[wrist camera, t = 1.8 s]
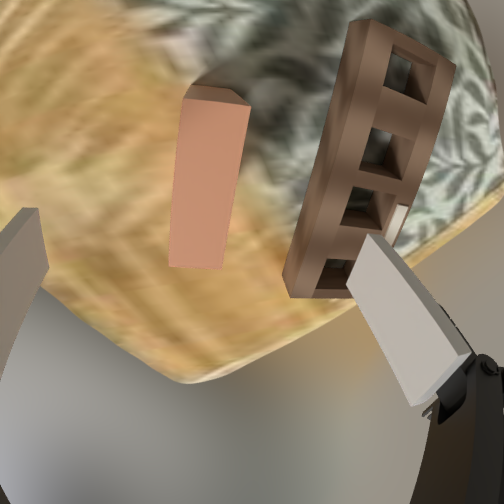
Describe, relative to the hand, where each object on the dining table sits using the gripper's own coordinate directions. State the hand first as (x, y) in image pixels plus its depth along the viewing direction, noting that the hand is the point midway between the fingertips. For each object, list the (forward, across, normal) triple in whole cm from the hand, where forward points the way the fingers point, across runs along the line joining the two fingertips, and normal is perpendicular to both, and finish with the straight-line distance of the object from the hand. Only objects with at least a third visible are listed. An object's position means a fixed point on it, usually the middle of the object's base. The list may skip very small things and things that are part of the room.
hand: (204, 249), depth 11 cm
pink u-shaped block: (+14, 0, 0) cm, 14 cm away
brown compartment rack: (+14, +14, 0) cm, 20 cm away
